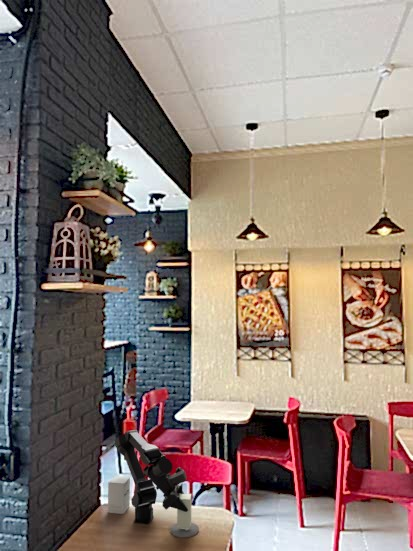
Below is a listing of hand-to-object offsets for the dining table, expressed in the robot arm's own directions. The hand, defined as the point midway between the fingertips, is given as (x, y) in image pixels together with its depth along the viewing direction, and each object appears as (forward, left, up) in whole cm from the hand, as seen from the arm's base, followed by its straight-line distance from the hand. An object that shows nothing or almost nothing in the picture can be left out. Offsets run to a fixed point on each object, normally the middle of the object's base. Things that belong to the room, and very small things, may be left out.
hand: (187, 508), depth 175 cm
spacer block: (-1, 0, -7) cm, 7 cm away
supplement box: (-34, +10, -9) cm, 37 cm away
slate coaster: (-1, 0, -8) cm, 9 cm away
